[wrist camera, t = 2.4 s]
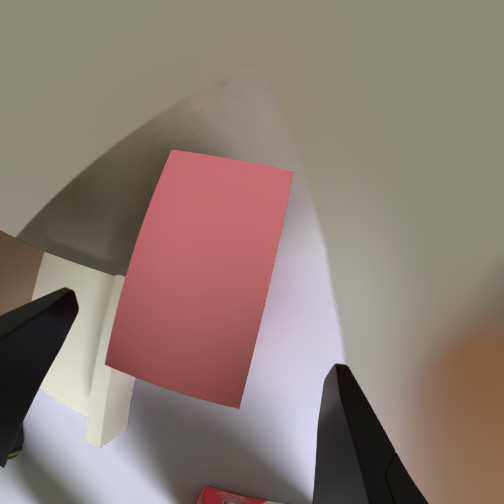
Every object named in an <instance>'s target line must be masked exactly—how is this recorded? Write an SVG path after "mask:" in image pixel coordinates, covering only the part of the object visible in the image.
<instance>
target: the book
mask: <svg viewBox="0 0 504 504" xmlns="http://www.w3.org/2000/svg"><path fill="white" fill-rule="evenodd" d="M293 173H294V172H292V171H288V170H283V169H279V168H274V167H270V166H265V165H260V164H255V163H250V162H245V161H240V160H235V159H229V158H224V157H218V156H212V155H206V154H200V153H193V152H186V151H179V150H171V153H170V155H169V157H168V160H167V162H166V164H165V167H164V169H163V171H162V174H161V176H160V179H159V181H158V184H157V186H156V189H155V191H154V194H153V197H152V199H151V202H150V204H149V207H148V210H147V213H146V215H145V218H144V221H143V224H142V227H141V230H140V233H139V235H138V238H137V241H136V245H135V248H134V251H133V254H132V257H131V260H130V264H129V267H128V270H127V274H126V277H125V281H124V284H123V288H122V291H121V295H120V299H119V303H118V306H117V310H116V314H115V319H114V323H113V327H112V331H111V336H110V340H109V345H108V350H107V355H106V360H105V365H107V366H109V367H111V368H114V369H116V370H118V371H121V372H123V373H126V374H128V375H131V376H133V377H136V378H138V379H141V380H144V381H147V382H149V383H152V384H155V385H158V386H161V387H164V388H167V389H170V390H173V391H176V392H179V393H182V394H185V395H189V396H192V397H195V398H199V399H202V400H206V401H210V402H214V403H217V404H221V405H225V406H229V407H234V408H238V409H239V407H240V403H241V399H242V395H243V391H244V388H245V384H246V380H247V376H248V372H249V368H250V364H251V360H252V356H253V352H254V347H255V343H256V339H257V335H258V331H259V327H260V323H261V318H262V314H263V310H264V306H265V301H266V297H267V293H268V289H269V284H270V280H271V275H272V271H273V267H274V262H275V258H276V253H277V249H278V244H279V240H280V235H281V230H282V226H283V221H284V216H285V212H286V207H287V202H288V197H289V193H290V188H291V183H292V178H293Z"/></svg>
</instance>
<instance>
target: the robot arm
mask: <svg viewBox="0 0 504 504" xmlns="http://www.w3.org/2000/svg"><path fill="white" fill-rule="evenodd" d="M78 312H79V305H78V302H77V298H76V294H75V292H74V290H72V289H69V288H67V287H63V288H61V289H59V290H56V291H54V292H52V293H49V294H47V295H45V296H42V297H40V298H38V299H36V300H33V301H31V302H29V303H27V304H24V305H22V306H20V307H18V308H15V309H13V310H11V311H9V312H7V313H4V314H2V315H0V466H1V467H3V468H4V467H5V465H6V462H7V460H8V457H9V454H10V452H11V449H12V447H13V444H14V442H15V439H16V437H17V435H18V432H19V430H20V427H21V425H22V423H23V421H24V418H25V416H26V414H27V412H28V410H29V408H30V406H31V404H32V402H33V399H34V397H35V395H36V393H37V392H38V390H39V388H40V386H41V384H42V382H43V380H44V378H45V376H46V374H47V372H48V371H49V369H50V367H51V365H52V363H53V362H54V360H55V358H56V356H57V355H58V353H59V351H60V349H61V348H62V346H63V344H64V342H65V340H66V337H67V335H68V333H69V331H70V329H71V327H72V325H73V323H74V321H75V319H76V317H77V315H78ZM312 504H429V503H428V502H427V501H426V499H425V498H424V496H423V495H422V493H421V492H420V490H419V489H418V488H417V486H416V485H415V483H414V482H413V480H412V479H411V477H410V476H409V474H408V472H407V470H406V469H405V467H404V465H403V464H402V462H401V460H400V458H399V456H398V454H397V453H395V449H394V447H393V445H392V443H391V442H390V440H389V438H388V436H387V434H386V432H385V431H384V429H383V427H382V425H381V423H380V422H379V420H378V418H377V416H376V414H375V413H374V411H373V409H372V407H371V406H370V404H369V402H368V400H367V398H366V397H365V395H364V393H363V391H362V390H361V388H360V386H359V384H358V383H357V381H356V379H355V377H354V376H353V374H352V372H351V370H350V369H349V367H348V366H347V365H344V364H334V365H333V367H332V368H331V370H330V371H329V373H328V375H327V376H326V378H325V381H324V385H323V392H322V399H321V406H320V413H319V419H318V428H317V449H316V466H315V479H314V492H313V502H312Z"/></svg>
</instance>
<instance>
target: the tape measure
mask: <svg viewBox="0 0 504 504" xmlns="http://www.w3.org/2000/svg"><path fill="white" fill-rule="evenodd" d="M22 444H23V433H22V431H21V427H20V430H19V432H18V435H17V437H16V439H15V442H14V444H13V447H12V449H11V452H10V454H9V457H8V460H9V459H12V458H14V457H16V456H17V455H18V454H19V452H20V451H21V450H22V447H23V446H22Z"/></svg>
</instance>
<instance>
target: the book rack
mask: <svg viewBox="0 0 504 504" xmlns="http://www.w3.org/2000/svg"><path fill="white" fill-rule="evenodd" d="M124 281H125V277H124V276H121V275H118V274H116V276H113V275H110V274H107V273H104V272H101V271H98V270H95V269H92V268H89V267H86V266H83V265H80V264H77V263H74V262H71V261H69V260H66V259H63V258H60V257H57V256H55V255H52V254H49V253H47V252H44V251H42V250H40V249H37V248H35V247H33V246H31V245H29V244H27V243H25V242H23V241H21V240H19V239H17V238H14V237H12V236H10V235H8V234H6V233H4V232H2V231H0V315H2V314H4V313H7V312H9V311H11V310H13V309H15V308H18V307H20V306H22V305H24V304H27V303H29V302H31V301H33V300H36V299H38V298H40V297H42V296H45V295H47V294H49V293H52V292H54V291H56V290H59V289H61V288H63V287H67V288H69V289H72V290H74V292H75V294H76V298H77V302H78V305H79V312H78V315H77V317H76V319H75V321H74V323H73V325H72V327H71V329H70V331H69V333H68V335H67V337H66V340H65V342H64V344H63V346H62V348H61V349H60V351H59V353H58V355H57V356H56V358H55V360H54V362H53V363H52V365H51V367H50V369H49V371H48V372H47V374H46V376H45V378H44V380H43V382H42V384H41V386H40V388H39V389H40V390H42V391H43V392H45V393H46V394H48V395H49V396H51V397H53V398H54V399H56V400H57V401H59V402H61V403H62V404H64V405H66V406H68V407H69V408H71V409H73V410H75V411H77V412H78V413H80V414H82V415H84V416H86V417H88V418H87V428H86V440H85V441H87V442H89V443H90V444H92V445H94V446H96V447H98V448H101V447H103V446H104V445H106V444H107V443H108V442H110V441H111V440H112V439H114V438H115V437H116V436H118V435H119V434H120V433H122V432H123V431H124V430H126V429H127V423H128V417H129V411H130V405H131V399H132V394H133V388H134V383H135V378H136V377H133V376H131V375H128V374H126V373H123V372H121V371H118V370H116V369H114V368H111V367H109V366H107V365H105V360H106V355H107V350H108V345H109V340H110V336H111V331H112V327H113V323H114V319H115V314H116V310H117V306H118V303H119V299H120V295H121V291H122V288H123V284H124Z"/></svg>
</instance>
